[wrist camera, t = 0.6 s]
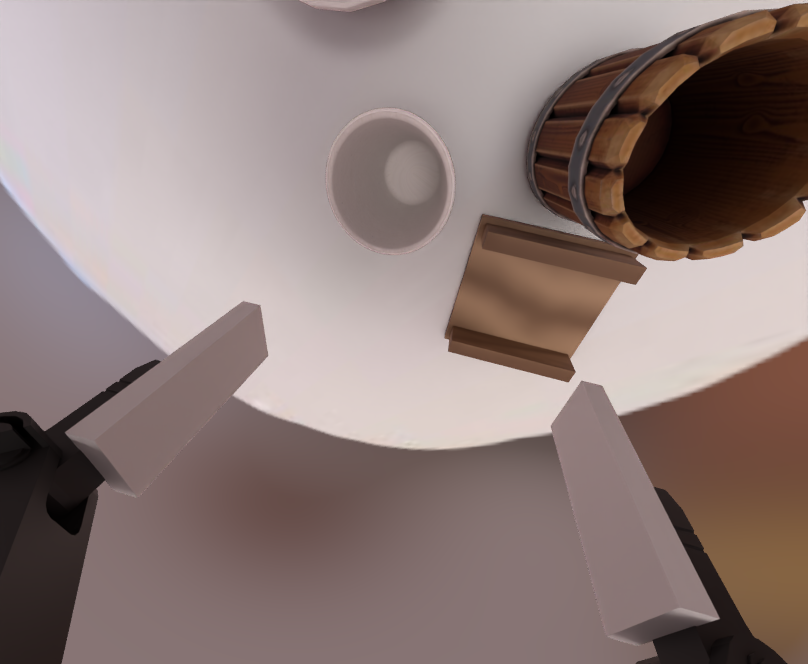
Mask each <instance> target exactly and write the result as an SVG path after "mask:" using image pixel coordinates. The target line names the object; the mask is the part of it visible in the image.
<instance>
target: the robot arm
mask: <svg viewBox="0 0 808 664" xmlns="http://www.w3.org/2000/svg"><path fill="white" fill-rule="evenodd" d="M267 357H268V351H267V345H266V338H265V332H264V326H263V319H262V313H261V307H260V305H257V304H253V303H248V302H244V301H243V302H241V303H240V304H239V305H237V306H236V307H235V308H233V309H232V310H231V311H229V312H228V313H226V314H225V315H224V316H222V317H221V318H220V319H218V320H217V321H216V322H214V323H213V324H211V325H210V326H209V327H207V328H206V329H205V330H203V331H202V332H201V333H199V334H198V335H197V336H195V337H194V338H192V339H191V340H190V341H188V342H187V343H186V344H184V345H183V346H182V347H180V348H179V349H178V350H176V351H175V352H173V353H172V354H171V355H169V356H168V357H167V358H165V359H164V360H163V361H158V360H154V361H151V362H149V363H147V364H144V365H142V366H140V367H137V368H135V369H134V370H132V371H131V372H130V373H128V374H127V375H125V376H124V377H123V378H121V379H120V381H119V382H115V383H114V384H112V385H111V386H110V387H108V388H107V389H106V391H105V392H101V393H100V394H98V395H97V396H95V397H94V398H92V399H91V400H90V401H88V402H87V403H85V404H84V405H82V406H81V407H80V408H78V409H77V410H75V411H74V412H72V413H71V414H70V415H68V416H67V417H65V418H64V419H63V420H61V421H60V422H58V423H57V424H55V425H54V426H53V427H51V428H50V429H48V430H46V431H43V430H42V429H41V428H40V427H39V426H38V424H37V423H36V422H35V421H34V420H33V419H32V418H31V417H30V416H29V415H28V414H27V413H24V412H17V411H12V412H4V413H0V664H61V663H62V659H63V654H64V650H65V645H66V641H67V636H68V632H69V627H70V623H71V618H72V613H73V609H74V604H75V600H76V595H77V591H78V586H79V582H80V577H81V573H82V568H83V563H84V559H85V554H86V549H87V545H88V541H89V536H90V532H91V527H92V523H93V518H94V514H95V509H96V505H97V500H98V491H97V489H96V488H97V487H98V486H99V485H100V484H101V483H103V481H106V482H107V483H108V484H109V486H110V487H111V488H112V489H113V490H114V491H116V492H120V493H123V494H126V495H130V496H133V497H137V498H138V497H139V496H140V495H141V494H142V493H143V492H144V490H145V489H147V487H148V486H149V485H150V484H151V483H152V482H153V481H154V480H155V479H156V478H157V477H158V475H159V474H160V473H161V472H162V471H163V470H164V469H165V468H166V467H167V466H168V464H169V463H170V462H171V461H172V460H173V459H174V458H175V457H176V456H177V455H178V454H179V452H180V451H181V450H182V449H183V448H184V447H185V446H186V444H188V443H189V442H190V441H191V439H192V438H193V437H194V436H195V435H196V434H197V433H198V432H199V431H200V430H201V429H202V427H203V426H204V425H205V424H206V423H207V422H208V421H209V420H210V419H211V418H212V417H213V415H214V414H215V413H216V412H217V411H218V410H219V409H220V408H221V407H222V406H223V404H224V403H225V402H226V401H227V400H228V399H229V398H230V397H231V396H232V395H233V394H234V393H235V391H236V390H237V389H238V388H239V387H240V386H241V385H242V384H243V383H244V382H245V381H246V379H247V378H248V377H249V376H250V375H251V374H252V373H253V372H254V371H255V370H256V369H257V367H258V366H259V365H260V364H261V363H262V362H263V361H264V360H265V359H266V358H267ZM551 429H552V433H553V436H554V440H555V443H556V448H557V451H558V456H559V459H560V463H561V467H562V471H563V475H564V478H565V482H566V486H567V490H568V494H569V497H570V501H571V505H572V508H573V513H574V517H575V520H576V524H577V528H578V532H579V536H580V539H581V543H582V547H583V550H584V555H585V558H586V562H587V566H588V570H589V574H590V577H591V581H592V585H593V589H594V593H595V596H596V600H597V604H598V608H599V612H600V615H601V619H602V623H603V627H604V631H605V635H606V637H609V638H612V639H616V640H619V641H622V642H626V643H629V644H632V645H636V646H638V645H641V644H645V643H647V642H651V641H653V643H654V646H655V649H656V652H657V654H658V656H656V657H652V658H649V659H645V660H642V661H638V662H637V663H636V664H787V663H786V662H785V661H784V660H783V659H782V658H781V657H780V656H779V655H778V654H777V653H776V652H775V651H774V650H772V649H771V648H770V647H768V646H767V645H765V644H764V643H763V642H761V641H760V640H759V639H756V638H754V636H753V635H752V633H751V632H750V630H749V628H748V627H747V626H746V624H745V622H744V620H743V618H742V617H741V615H740V613H739V611H738V610H737V608H736V606H735V604H734V602H733V600H732V599H731V597H730V595H729V593H728V591H727V590H726V588H725V586H724V584H723V582H722V581H721V579H720V577H719V575H718V573H717V572H716V570H715V568H714V566H713V564H712V562H711V561H710V559H709V557H708V555H707V554H706V553H704V551H703V549H704V548H703V546H702V545H701V542H700V541H699V539H698V537H697V535H695V534H694V530H693V528H692V526H691V524H690V522H689V521H688V519H687V517H686V515H685V514H684V512H683V510H682V509H681V507H680V506H679V505H678V504H677V503H676V502H675V501H674V499H673V498H672V497H671V496H670V495H669V494H668V492H667V491H665V490H663V489H660V488H656V487H653V485H652V484H651V482H650V480H649V477H648V475H647V473H646V471H645V470H644V468H643V466H642V464H641V462H640V460H639V458H638V456H637V454H636V452H635V450H634V448H633V446H632V444H631V442H630V440H629V438H628V436H627V434H626V432H625V430H624V428H623V426H622V424H621V422H620V420H619V418H618V416H617V414H616V412H615V410H614V408H613V406H612V404H611V402H610V400H609V398H608V396H607V394H606V392H605V390H604V388H603V386H601V385H597V384H593V383H589V382H584V381H581V382H580V384H579V385H578V387H577V388H576V390H575V391H574V393H573V394H572V396H571V397H570V398H569V400H568V401H567V403H566V404H565V406H564V407H563V409H562V410H561V412H560V413H559V414H558V416H557V417H556V419H555V420H554V422H553V423H552V425H551Z"/></svg>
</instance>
